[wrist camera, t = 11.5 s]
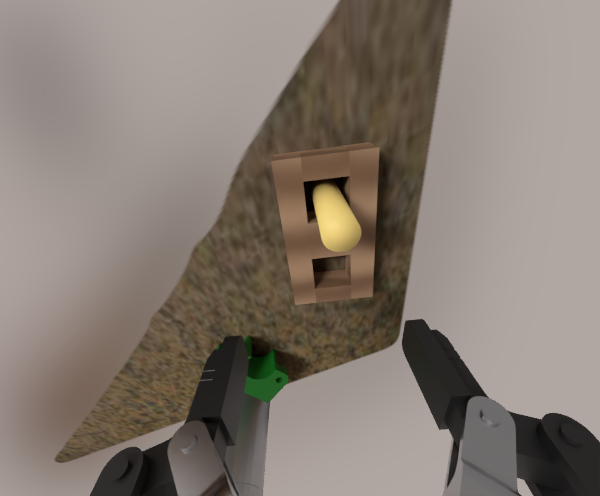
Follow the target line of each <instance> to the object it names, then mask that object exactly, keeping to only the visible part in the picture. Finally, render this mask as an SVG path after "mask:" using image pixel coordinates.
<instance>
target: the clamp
mask: <svg viewBox="0 0 600 496" xmlns="http://www.w3.org/2000/svg"><path fill="white" fill-rule="evenodd" d="M244 344H245V348H246V351H247V354H248V360H249V365H248V373H247V379H246V384H245V390H244V393H246V394H248V395H251V396H253V397H255V398H258V399H260V400H262V401H264V402H267V403H269V402H270V401H271V399H272V398H273V397H274V396H275V395H276V394H277V393H278V392H279V391H280V390H281V389H282V388H283V387H284V386H285V385H286V384H287V382H288V373H287V369H286V368H285V367H283V366H281V365H279V364H277V358H276V350H275V349H272V350H271V352H270V353H268V354H267V355H265V356H262V357H253V356H252V345H251V336H249V335H248V336H247V337H246V339H245V340H244ZM222 345H223V343H221V344H220V345H219V346H218V347H217V349H221V348H222Z"/></svg>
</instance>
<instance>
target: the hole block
mask: <svg viewBox="0 0 600 496" xmlns="http://www.w3.org/2000/svg"><path fill="white" fill-rule="evenodd" d="M379 149H380V147H378V146H376V145H374V144H371V143H369V142H368V143H360V144H352V145H345V146H337V147H329V148H321V149H313V150H306V151H298V152H290V153H282V154H275V155H273V157H272V160H271V164H272V170H273V176H274V181H275V187H276V193H277V199H278V205H279V211H280V217H281V223H282V229H283V234H284V240H285V246H286V252H287V258H288V264H289V270H290V276H291V282H292V288H293V293H294V299H295V305H298V304H308V303H317V302H326V301H336V300H345V299H354V298H363V297H373V279H374V257H375V236H376V214H377V192H378V171H379ZM337 177H343V183H344V199H345V200H346V202H347V204H348V206H349V207H350V209H351V211H352V213H353V214H354V216H355V218H356V220H357V221H358V223H359V225H360V227H361V238H360V240H359V242H358V243H357V245H356V246H354V247H353V248H352V249H350V250H348V251H345V252H334V251H331V250H329V249H328V248H326V247H325V245H324V244H323V242H322V239H321V234H320V230H319V225H318V221H317V216H316V212H315V210H314V211H306V202H305V193H304V184H303V182H305V181H313V180H321V179H329V178H337ZM344 255H345V260H346V269H340V270H331V271H322V272H313V266H312V259H317V258H326V257H335V256H344Z"/></svg>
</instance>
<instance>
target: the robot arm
mask: <svg viewBox="0 0 600 496" xmlns="http://www.w3.org/2000/svg"><path fill="white" fill-rule="evenodd" d="M402 347H403V351H404V354H405V357H406V359H407V361H408V363H409V365H410V367H411V369H412V372H413V374H414V376H415V378H416V380H417V383H418V385H419V387H420V389H421V391H422V393H423V395H424V398H425V400H426V402H427V404H428V406H429V408H430V411H431V413H432V415H433V417H434V419H435V421H436V424H437V426H438V428H439V430H441V429H449V431H450V432H451V435H452V437H453V438H452V443H451V449H450V456H449V462H448V469H447V475H446V482H445V487H444V492H443V496H521V495H520V494H519V493H518V490H517V478H520V479H523V480H525V482H526V484H527V485H528V487H529V489H530V491H531V492H532V494H533V495H534V496H600V442H599V441H598V440H597V439H596V437H595V436H594V435H593V434H592V433H591V432H590V431H589V430H588V429H587V428H585V427H584V426H583V425H582V424H580V423H578V422H577V421H575V420H574V419H572V418H570V417H567V416H565V415H562V414H558V413H549V414H546V415H545V416H544V417H543V418H542V420H541V419H537V418H533V417H528V416H524V415H519V414H516V413H512V412H509V411H507V410H506V409H505V408H504V407H503V406H502V405H500V404H499V403H497V402H496V401H494V400H492V399H490V398H489V397H488V396H487V395H486V394H485V393H484V391H483V390H482V389H481V387H480V385H479V384H478V382H477V381H476V380H475V378H474V377H473V375H472V374H471V373H470V371H469V369H468V368H467V366H466V365H465V363H464V362H463V361H462V360H461V359H460V356H459V355H458V353H457V352H456V351H455V350H454V347H453V346H452V344H451V343H450V342H449V340H448V339H447V338H446V337H445V336H444V335H443V334H441V333H440V332H439V331H438V330H430V328H429V327H428V325H427V324H426V322H425V321H424V320H423V319H418V320H408V321H406V322H405V327H404V333H403V339H402ZM248 365H249V360H248V354H247V351H246V348H245V344H244V341H243V338H242V336H230V337H225V339H224V341H223V345H222V348H221V349H215V350H214V351H213V352H212V354H211V355H210V356H209V358H208V359H207V361H206V364H205V367H204V370H203V371H204V372H203V373H202V376H201V379H200V382H199V385H198V388H197V391H196V394H195V397H194V400H193V403H192V406H191V408H190V411H189V414H188V417H187V420H186V422H185V424H184V425H183V426H181V427H180V428H179V429H178V430H177V431H176V433H175V434H174V435H173V437H172V438H170V439H169V440H167V441H165V442H163V443H161V444H158V445H156V446H154V447H152V448H150V449H147V450H145V451H143V452H142V451H141V450H140V449H139V448H137V447H129V448H126V449H124V450H122V451H120V452H119V453H117V454H116V455H115V456H114V457H113V458H112V459H111V460H110V461H109V462H108V463H107V464H106V466H105V467H104V469H103V470H102V472H101V474H100V476H99V478H98V480H97V482H96V484H95V486H94V488H93V490H92V492H91V494H90V496H263V484H264V472H265V459H266V445H267V432H268V419H269V406H270V402H269V403H267V402H264V401H262V400H260V399H258V398H255V397H253V396H251V395H248V394H246V393H244V390H245V384H246V379H247V373H248Z"/></svg>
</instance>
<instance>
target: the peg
mask: <svg viewBox="0 0 600 496" xmlns="http://www.w3.org/2000/svg"><path fill="white" fill-rule="evenodd" d="M311 194H312V199H313V203H314V208H315V212H316V216H317V221H318V225H319V230H320V234H321V239H322V242H323V244H324V245H325V247H326V248H328V249H329V250H331V251H334V252H345V251H348V250H350V249H352V248H353V247H354V246H356V245H357V243H358V242H359V240H360V238H361V227H360V225H359V223H358V221H357V220H356V218H355V216H354V214H353V213H352V211H351V209H350V207H349V206H348V204H347V202H346V200H345V199H344V197H343V195H342V193H341V192H340V190H339V188H338V186H337V184H336V183H335V181H334V180H332V179H331V178H329V179H321V180H316V181H315V182H314V183H313V185H312V188H311Z"/></svg>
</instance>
